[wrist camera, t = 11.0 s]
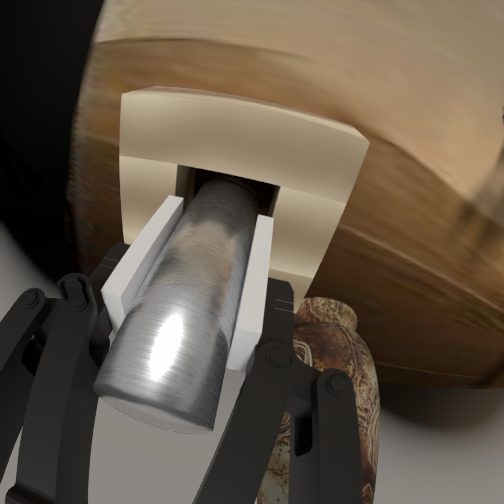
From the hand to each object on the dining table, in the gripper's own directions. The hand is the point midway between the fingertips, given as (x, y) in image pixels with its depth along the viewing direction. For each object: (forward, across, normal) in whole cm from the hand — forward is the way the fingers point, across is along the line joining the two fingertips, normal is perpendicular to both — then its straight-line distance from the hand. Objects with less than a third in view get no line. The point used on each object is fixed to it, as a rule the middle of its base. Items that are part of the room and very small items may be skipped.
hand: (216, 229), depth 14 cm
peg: (+3, 0, 0) cm, 3 cm away
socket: (+5, 0, 0) cm, 5 cm away
